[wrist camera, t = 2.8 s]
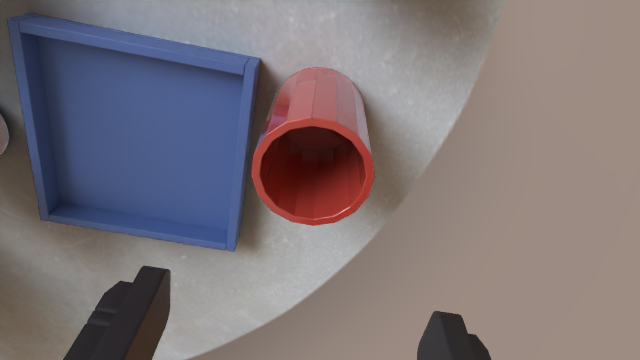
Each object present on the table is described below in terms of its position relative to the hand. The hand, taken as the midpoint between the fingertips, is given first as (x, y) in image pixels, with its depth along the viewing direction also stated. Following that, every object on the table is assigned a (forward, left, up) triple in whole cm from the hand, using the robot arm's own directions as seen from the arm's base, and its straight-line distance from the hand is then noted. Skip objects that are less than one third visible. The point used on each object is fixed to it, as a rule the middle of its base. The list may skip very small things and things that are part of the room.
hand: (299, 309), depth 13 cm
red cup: (0, 0, -16) cm, 16 cm away
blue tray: (+10, +4, -16) cm, 19 cm away
